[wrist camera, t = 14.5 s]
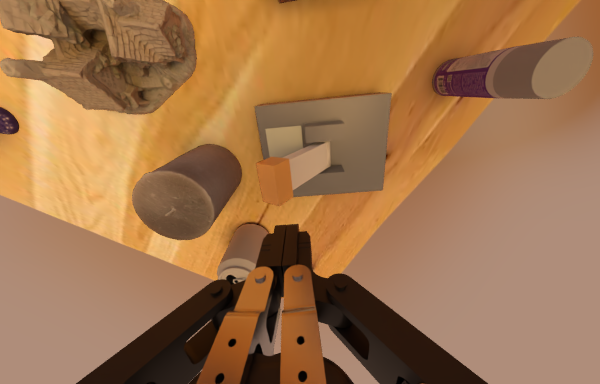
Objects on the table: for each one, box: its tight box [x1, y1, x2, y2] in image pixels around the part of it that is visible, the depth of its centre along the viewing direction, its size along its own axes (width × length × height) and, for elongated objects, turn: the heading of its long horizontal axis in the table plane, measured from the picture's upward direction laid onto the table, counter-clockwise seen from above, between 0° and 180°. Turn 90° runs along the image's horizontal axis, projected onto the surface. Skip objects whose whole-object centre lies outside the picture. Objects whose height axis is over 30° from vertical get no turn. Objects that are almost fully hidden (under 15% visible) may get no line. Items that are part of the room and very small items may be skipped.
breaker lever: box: [256, 141, 331, 206], centre depth 26 cm, size 4×2×12 cm
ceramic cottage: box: [0, 0, 197, 114], centre depth 24 cm, size 16×16×15 cm
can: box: [217, 224, 269, 285], centre depth 39 cm, size 8×8×12 cm
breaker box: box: [255, 93, 391, 197], centre depth 32 cm, size 14×18×8 cm
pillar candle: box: [132, 144, 242, 240], centre depth 31 cm, size 10×10×15 cm
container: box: [432, 37, 593, 99], centre depth 24 cm, size 5×5×15 cm
